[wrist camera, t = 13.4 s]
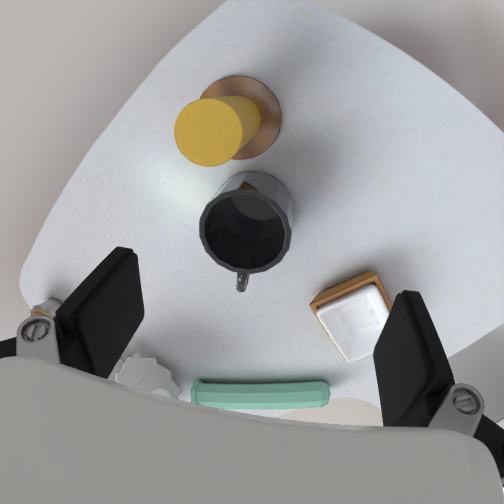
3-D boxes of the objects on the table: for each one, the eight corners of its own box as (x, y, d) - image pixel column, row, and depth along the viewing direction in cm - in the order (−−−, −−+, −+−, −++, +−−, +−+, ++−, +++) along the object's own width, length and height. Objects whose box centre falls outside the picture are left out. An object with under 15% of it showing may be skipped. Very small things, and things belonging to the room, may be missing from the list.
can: (248, 87, 32) (223, 86, 22) (269, 131, 34) (254, 150, 24) (204, 108, 34) (162, 118, 23) (225, 150, 36) (193, 177, 26)
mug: (218, 166, 38) (200, 184, 31) (297, 176, 37) (297, 196, 30) (214, 260, 44) (199, 292, 38) (283, 271, 43) (279, 305, 37)
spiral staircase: (105, 362, 68) (169, 335, 57) (140, 424, 66) (212, 415, 55) (46, 390, 51) (95, 373, 40) (87, 461, 50) (154, 469, 39)
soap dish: (308, 289, 44) (308, 312, 40) (372, 259, 41) (379, 280, 36) (344, 344, 48) (346, 367, 44) (400, 320, 45) (407, 343, 40)
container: (331, 405, 47) (188, 405, 52) (330, 411, 52) (200, 412, 57) (330, 373, 51) (192, 376, 56) (329, 382, 55) (203, 384, 60)
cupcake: (71, 335, 59) (48, 366, 50) (40, 308, 57) (14, 337, 48) (81, 313, 55) (55, 347, 46) (46, 283, 53) (17, 314, 44)
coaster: (258, 62, 31) (258, 61, 30) (295, 139, 35) (295, 140, 34) (182, 99, 34) (180, 100, 34) (218, 171, 38) (217, 172, 37)
